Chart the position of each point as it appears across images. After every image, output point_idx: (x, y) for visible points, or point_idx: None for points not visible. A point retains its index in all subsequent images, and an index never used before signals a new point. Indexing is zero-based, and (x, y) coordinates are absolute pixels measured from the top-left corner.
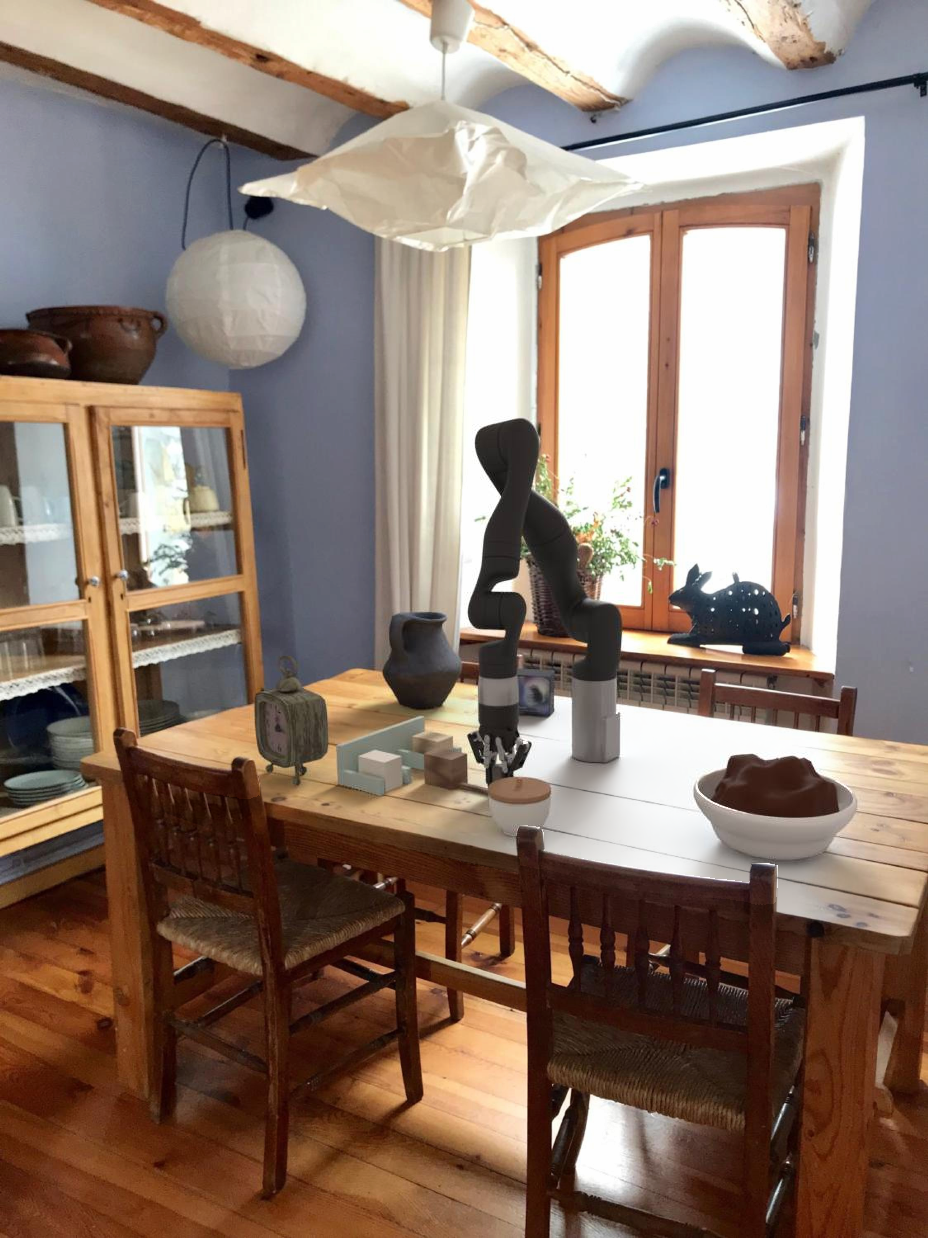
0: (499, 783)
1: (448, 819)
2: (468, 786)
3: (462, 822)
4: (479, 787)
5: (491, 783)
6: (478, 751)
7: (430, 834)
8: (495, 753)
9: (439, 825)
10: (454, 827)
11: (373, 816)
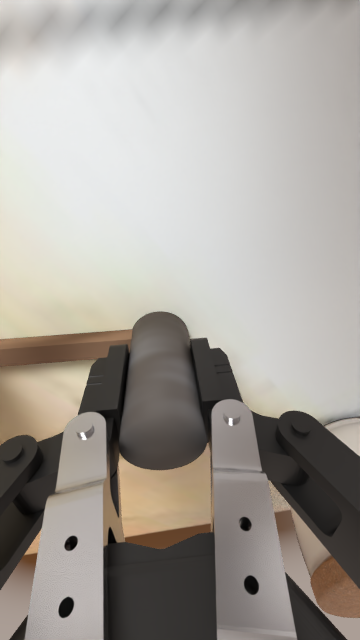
0: (354, 605)
1: (163, 485)
2: (14, 364)
3: (200, 479)
4: (58, 353)
5: (325, 608)
6: (11, 566)
7: (188, 523)
8: (112, 515)
9: (171, 504)
10: (204, 495)
11: (35, 538)
